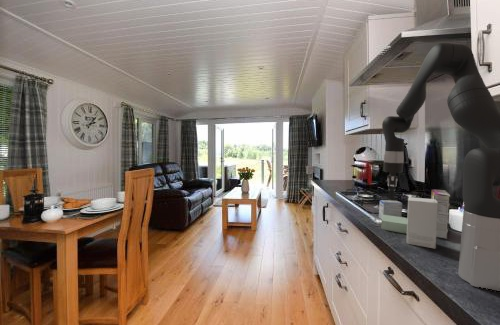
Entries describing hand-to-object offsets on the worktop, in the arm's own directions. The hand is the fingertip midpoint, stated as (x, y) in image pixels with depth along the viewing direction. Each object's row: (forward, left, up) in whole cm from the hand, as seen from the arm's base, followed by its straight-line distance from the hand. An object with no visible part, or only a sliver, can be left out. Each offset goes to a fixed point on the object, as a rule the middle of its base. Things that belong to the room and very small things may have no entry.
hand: (391, 197), depth 108 cm
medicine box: (0, 0, -11) cm, 11 cm away
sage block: (-11, -2, -11) cm, 16 cm away
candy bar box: (-10, -16, -11) cm, 21 cm away
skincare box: (-25, -9, -11) cm, 29 cm away
